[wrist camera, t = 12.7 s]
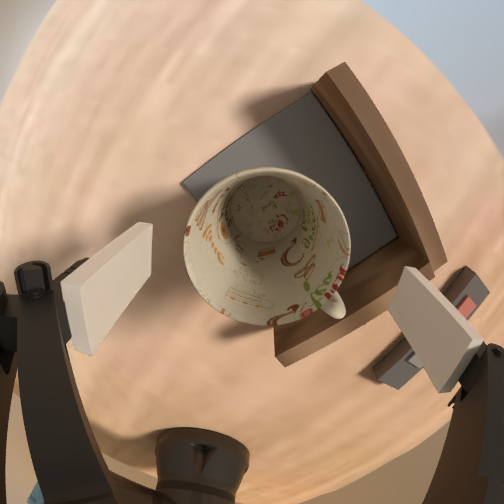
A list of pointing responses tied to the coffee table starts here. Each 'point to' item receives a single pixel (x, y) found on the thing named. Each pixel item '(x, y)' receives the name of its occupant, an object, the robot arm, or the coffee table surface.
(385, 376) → the remote
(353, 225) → the mat
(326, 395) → the coffee table surface
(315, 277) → the mug
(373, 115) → the brown corner wall
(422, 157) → the coffee table surface
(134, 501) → the robot arm
